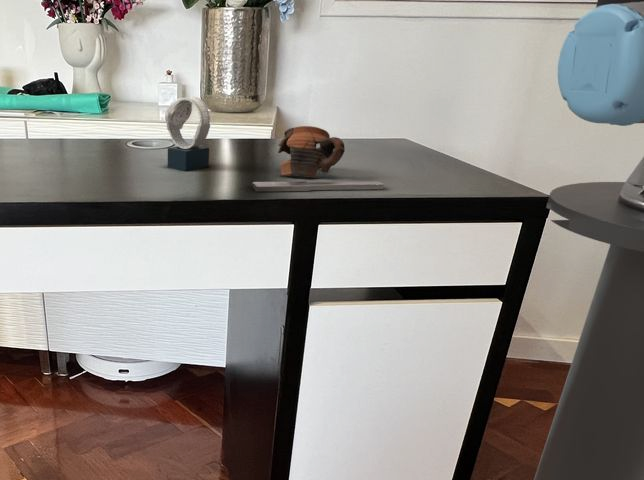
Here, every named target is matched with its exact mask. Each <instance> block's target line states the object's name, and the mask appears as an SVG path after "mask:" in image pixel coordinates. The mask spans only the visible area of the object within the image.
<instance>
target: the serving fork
mask: <svg viewBox="0 0 644 480" xmlns="http://www.w3.org/2000/svg"><path fill="white" fill-rule="evenodd" d="M384 186H385V184H384V183H382V182H381V181H309V182H308V181H253V182H252V188H253V190H254V191H255V192H256V193H266V192H268V193H269V192H270V193H271V192H272V193H273V192H275V193H276V192H278V193H279V192H280V193H281V192H311V191H370V190H371V191H372V190H373V191H375V190H384Z"/></svg>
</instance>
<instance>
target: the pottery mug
mask: <svg viewBox="0 0 644 480" xmlns="http://www.w3.org/2000/svg"><path fill="white" fill-rule="evenodd" d="M283 134H284V138H282V139H281V141H279V143H278V147H279V149H278V151H277V153H278V154H281V153H285V154H287V155H290V159H288V160H285V161H282V162H281V163H280V173H281V174H280V175H281V177H285V176H298V177H299V176H300V177H307V178H312V179H316V178H317V176H318V171H319V170H321V172H323V173H328V172H329V171H330V169H331V168H332V167H334V166H335V165H336V164H337V163H339V161H341V159H342V158H343V156H344V153H345V151H346V149H345V148H346V147H345V142H344V141H343V140H342V139H340V137H336V136H333V137H331V135H330V133H329V132H328V131H327V130H325V129H324V128H321V127H317V126H311V125H307V126H306V125H301V126H295V127H290V128H288V129H287V130H285V132H284V133H283ZM317 145H319V147H317Z"/></svg>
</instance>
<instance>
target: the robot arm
mask: <svg viewBox="0 0 644 480" xmlns="http://www.w3.org/2000/svg"><path fill="white" fill-rule="evenodd" d="M595 5H596V6H595V8H594V9H592V10H591V11H589V12H586V14H584V15H582V17H580V18H579V19H578V20H577V22H576V23H574V26H573V27H574V30H572V31H569V32H568V33H567V35H566V37H565V39H564V41H563V43H562V45H561V46H562V47H561V48H560V52H559V56H558V60H557V61H558V62H557V84H558V88H559V92H560V95H561V97H562V99H563V100H564V101H565V102H566V103H567V107H568V109H569V110H570V111H571V112H572V113H573V114H574V115H575V116H576V117H578V118H579V119H581V120H584V121H586V122H589V123H593V124H604V125H605V124H608V125H611V126H620V127H627V126H632V125H634V124H644V0H597V1H596V4H595ZM624 182H625V184H624V185H623V188H622V189H621V193H620V196H619V199H618V201H619V202H620V203H621V204H623V205H624V206H626V207H629V208H631V209H634V210H637V211H641V212H644V156H643V157H642V158H641V159H640V161H639V162H638V164H637V165H636V166H635V168H634V169H633V171H632V172H631V173H630V174H629V176H628V178H627V179H626V181H624Z"/></svg>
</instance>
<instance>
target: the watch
mask: <svg viewBox="0 0 644 480" xmlns="http://www.w3.org/2000/svg"><path fill="white" fill-rule="evenodd" d="M192 106H194V107H195V108H196V110H197V112H198V116H199V121H198V125H197V127H196V130H195V134H194V136H193V138H192V139H191V144H189V143H188V142H186V141H185V139H184V137H183V135H182V133H181V130H182V129H183V127H184V125H185V123H186V122H187V120H189V118H190V116H191V115H192V111H193V107H192ZM164 121H165V122H166V130H167V131H168V133H169V137H170V139H171V140H172V142H173V143H174V144H175V146H173V147H167V168H169V169H175V170H179V171H183V172H187V171H193V170H198V169H204V168H209V165H210V147H208V146H202V145H203V144H204V143H205V141H206V140H207V137H208V135H209V131H210V129H211V124H210V123H211V116H210V112H209V108H208V106H207V104H206V103H205V102H204V100H202V99H201V98H200V97H197V96H190V97H179V98H177V99H175V100H174V101H172V102H171V103H170V105H169V106H168V107H167V109H166V110H165V114H164Z"/></svg>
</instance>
